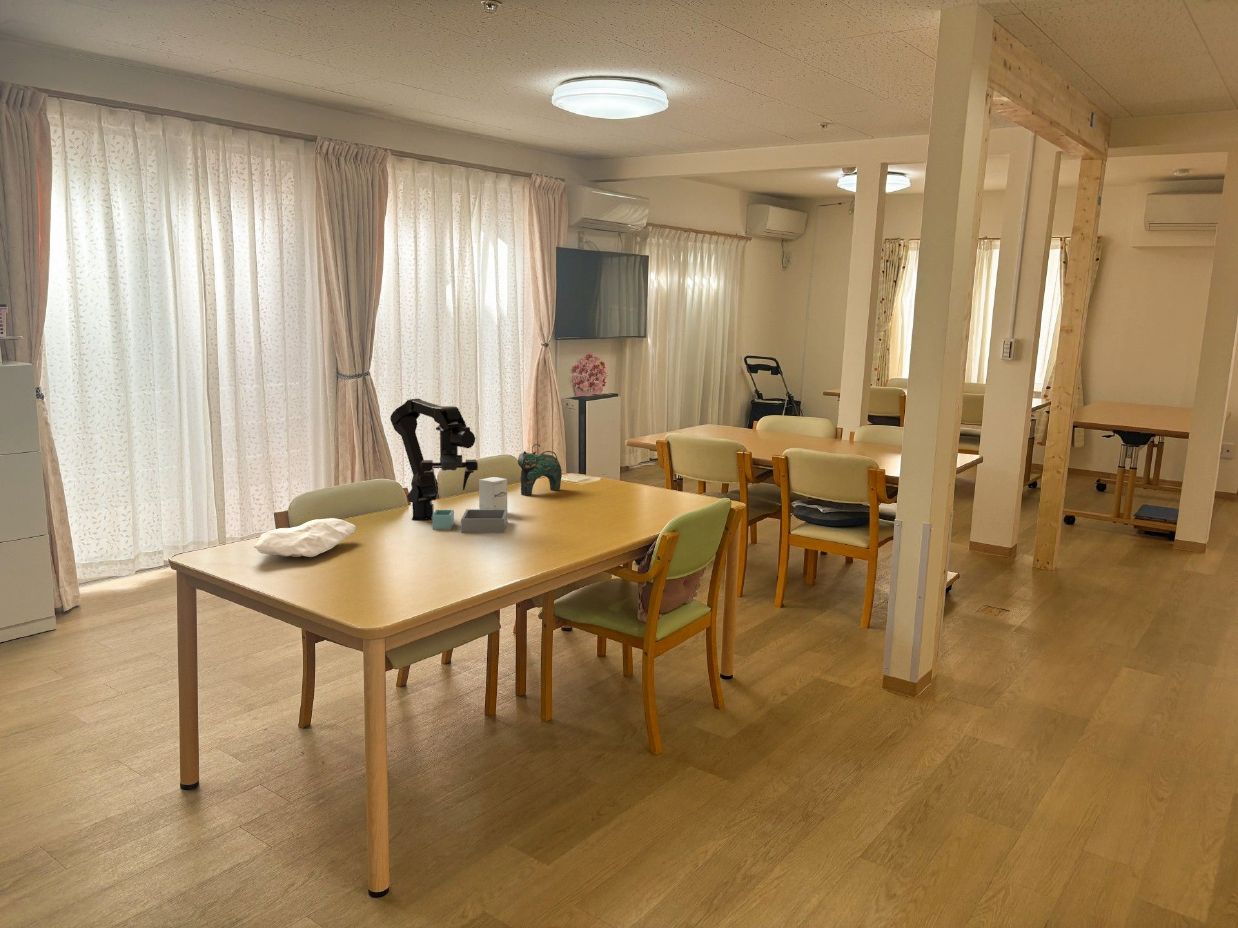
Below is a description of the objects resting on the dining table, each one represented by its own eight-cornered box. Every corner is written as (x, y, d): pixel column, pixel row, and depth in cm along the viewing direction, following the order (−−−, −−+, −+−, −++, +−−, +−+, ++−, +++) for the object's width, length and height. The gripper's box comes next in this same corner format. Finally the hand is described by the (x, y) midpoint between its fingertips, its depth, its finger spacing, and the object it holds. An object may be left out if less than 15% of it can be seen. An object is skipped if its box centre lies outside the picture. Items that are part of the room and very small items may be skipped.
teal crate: (432, 530, 292) (432, 515, 292) (436, 524, 300) (436, 509, 299) (450, 530, 293) (450, 515, 292) (454, 524, 301) (453, 509, 300)
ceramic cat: (524, 497, 343) (523, 446, 340) (514, 494, 348) (514, 444, 344) (564, 490, 356) (564, 441, 353) (554, 488, 361) (554, 440, 357)
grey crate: (461, 532, 289) (461, 519, 288) (466, 522, 303) (466, 509, 302) (504, 532, 290) (504, 519, 289) (507, 522, 303) (507, 509, 303)
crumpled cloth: (225, 555, 255) (225, 525, 253) (320, 528, 285) (322, 502, 283) (279, 579, 245) (281, 549, 242) (373, 549, 274) (375, 522, 272)
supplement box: (493, 516, 311) (492, 481, 309) (478, 513, 315) (478, 479, 313) (508, 513, 317) (507, 478, 314) (493, 510, 321) (493, 476, 319)
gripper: (419, 449, 284) (420, 496, 286) (477, 448, 287) (478, 495, 290) (420, 443, 294) (421, 489, 297) (477, 442, 298) (477, 488, 301)
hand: (449, 490), depth 296 cm, fingers open, 9 cm apart
